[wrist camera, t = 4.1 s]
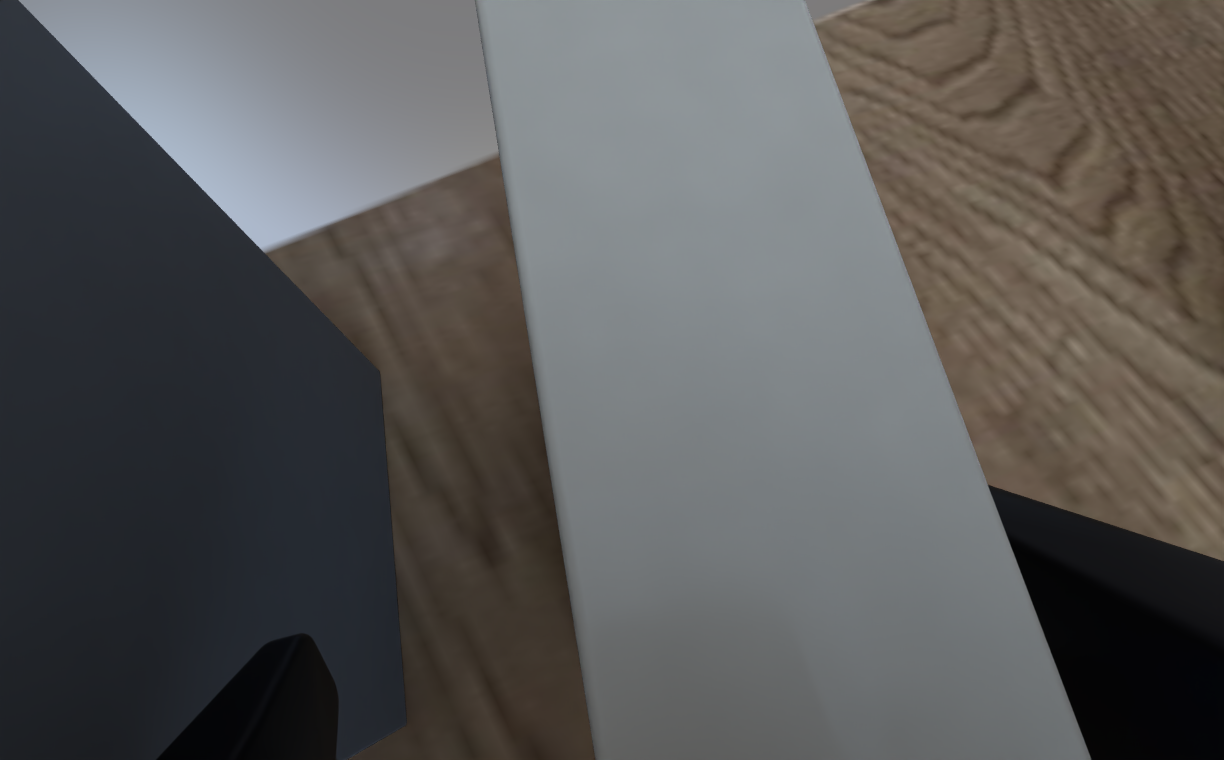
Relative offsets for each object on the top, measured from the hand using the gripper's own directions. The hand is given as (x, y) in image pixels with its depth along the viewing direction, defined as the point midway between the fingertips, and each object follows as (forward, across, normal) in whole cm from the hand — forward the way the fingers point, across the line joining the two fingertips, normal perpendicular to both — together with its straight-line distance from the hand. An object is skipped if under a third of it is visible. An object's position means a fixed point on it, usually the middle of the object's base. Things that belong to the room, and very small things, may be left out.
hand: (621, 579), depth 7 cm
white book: (+8, -1, +5) cm, 10 cm away
